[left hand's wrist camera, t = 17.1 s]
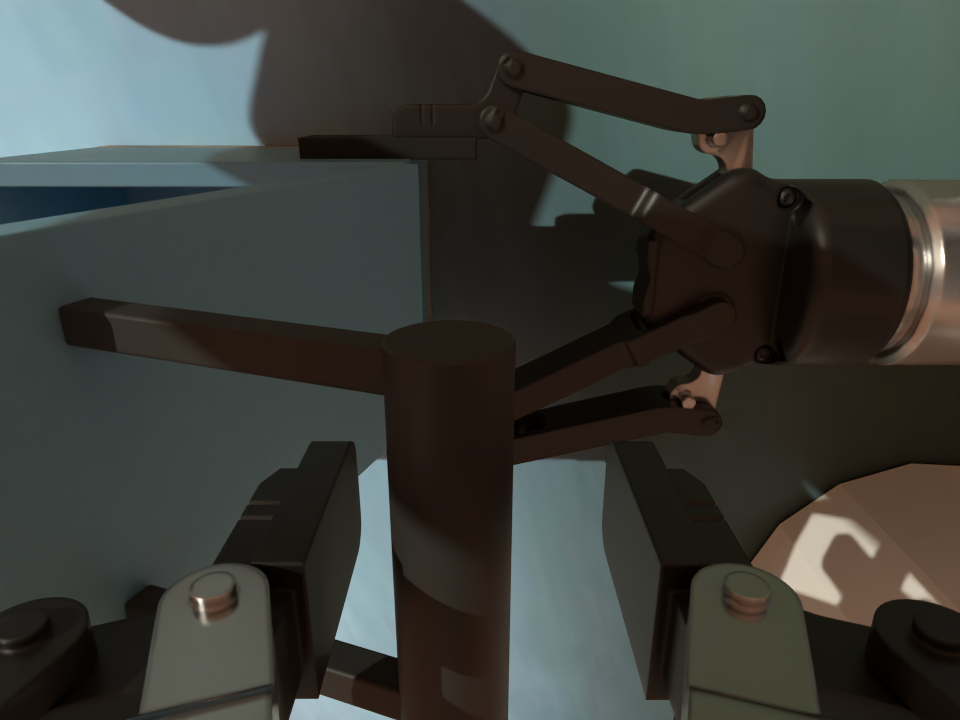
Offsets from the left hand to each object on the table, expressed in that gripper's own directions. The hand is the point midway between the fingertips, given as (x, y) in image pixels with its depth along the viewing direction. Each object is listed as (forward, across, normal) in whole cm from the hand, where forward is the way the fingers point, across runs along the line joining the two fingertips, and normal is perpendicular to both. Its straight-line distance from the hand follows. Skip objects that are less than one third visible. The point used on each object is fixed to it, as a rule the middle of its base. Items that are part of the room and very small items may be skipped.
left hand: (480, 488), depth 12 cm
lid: (+6, +6, 0) cm, 8 cm away
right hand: (+17, +7, 0) cm, 18 cm away
